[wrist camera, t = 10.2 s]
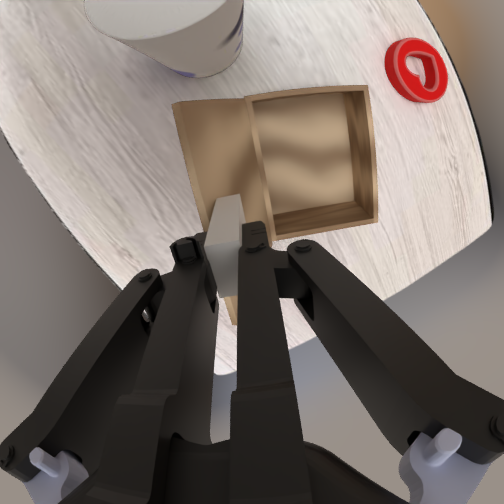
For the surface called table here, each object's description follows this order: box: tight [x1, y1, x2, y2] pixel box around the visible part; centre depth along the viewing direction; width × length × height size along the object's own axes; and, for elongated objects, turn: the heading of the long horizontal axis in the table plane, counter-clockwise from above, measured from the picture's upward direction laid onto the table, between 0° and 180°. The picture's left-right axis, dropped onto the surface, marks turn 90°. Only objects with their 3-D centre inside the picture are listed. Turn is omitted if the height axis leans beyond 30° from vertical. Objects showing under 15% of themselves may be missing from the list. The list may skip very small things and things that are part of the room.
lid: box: [171, 99, 273, 325], centre depth 21 cm, size 15×12×1 cm
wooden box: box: [244, 85, 378, 241], centre depth 30 cm, size 16×13×7 cm
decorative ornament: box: [385, 38, 448, 103], centre depth 26 cm, size 10×10×3 cm
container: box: [84, 0, 244, 78], centre depth 17 cm, size 10×10×20 cm
